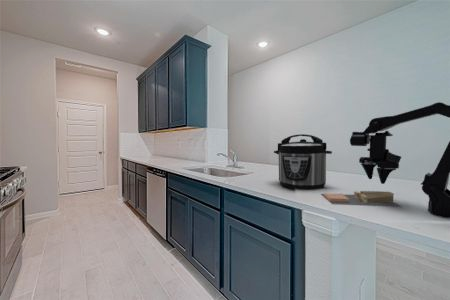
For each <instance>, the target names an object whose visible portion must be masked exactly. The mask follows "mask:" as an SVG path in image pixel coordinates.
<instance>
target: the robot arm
mask: <svg viewBox="0 0 450 300" xmlns="http://www.w3.org/2000/svg"><path fill="white" fill-rule="evenodd" d="M435 115H440V116H443V117H447V118H450V105H449V104H445V103H444V102H439V101H437V102H434V103H433V104H430V105H426V106H423V107H419V108H416V109H413V110H409V111H405V112H402V113H398V114H394V115H390V116H389V115H388V116H379V117H375V118H372V119H371V120H370V121H369V123H368V126H367V127H366V128H365V129H364V130H363V131H352V132H351V136H350V138H349V144H350V146H352V147H367V146H368V145H369V148H367V150H366V151H369V154H368V156H360V157H359V159H358V160H359V161H358V163H360V165H361V166H362V168H363V170H364V172H365V174H366V176H367V178H368V179H369V180H372V179H373V175H374V169H375V167H376V170H377V174H378V178H379V181H380V184H382V185H385V183H386V181H387V180H388V177H389V175H390V174H391V173H392V172H394V171H396V170H397V169H399V168H400V162H401V159H402V156H400V155H397V154H394V153H393V152H390V150H389V149H388V148H387V137H393V134H392V133H391V132H390V131H389V129H391V128H393V127H395V126H398V125H401V124H404V123H408V122H412V121H415V120H420V119H424V118H427V117H431V116H435ZM383 131H384V132H383ZM370 134H371V135H370ZM449 180H450V140H449V142H448V143H447V145H446V148H445V149H444V151H443V154H442V156H441V158H440V160H439V162H438V164H437V166H436V168H435V170H434V171H433V172H432V173H430V172H428V173H426V174H425V175H424V178H423V180H422V182H421V183H420V185H421V190H422V192H423V193H424V194H425V195H426V196H427V197H428V203H427V204H428V207H427V212H429V214H431V215H433V216H436V217H442V218H443V219H444V218H445V219H450V189H448V184H449Z"/></svg>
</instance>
